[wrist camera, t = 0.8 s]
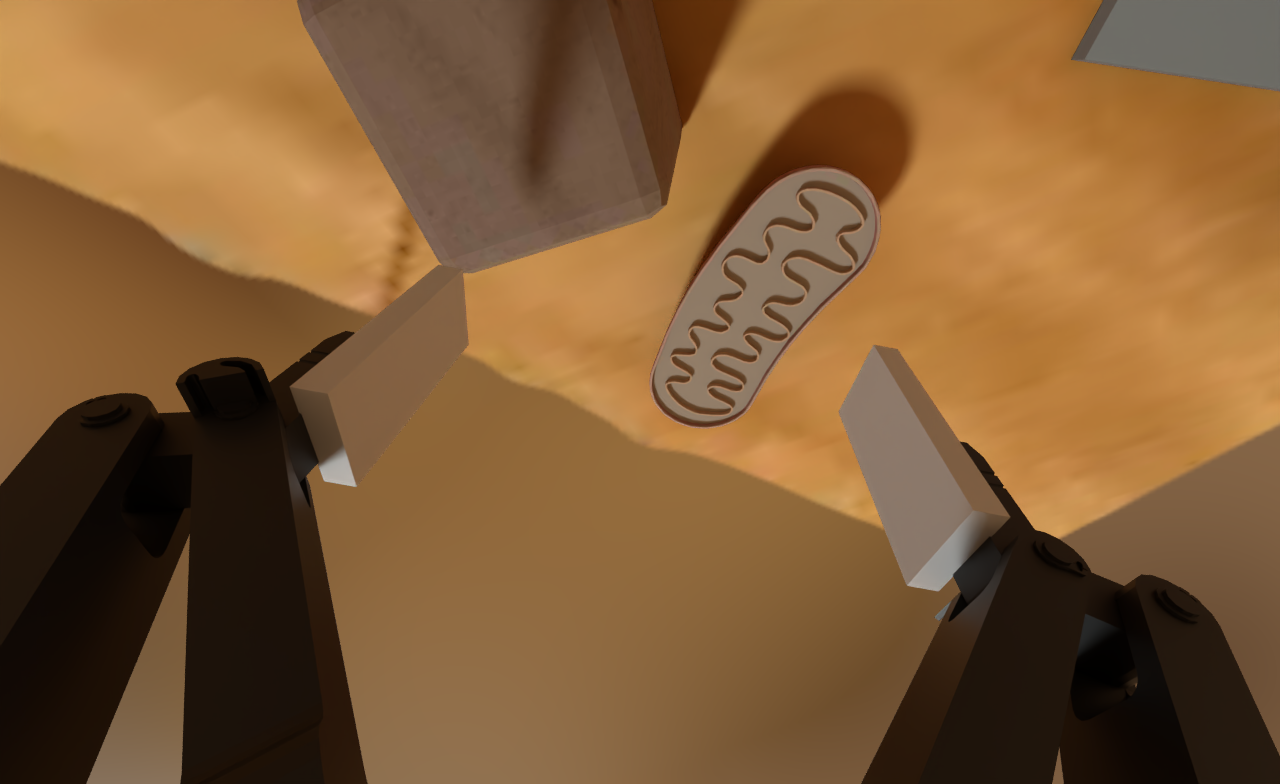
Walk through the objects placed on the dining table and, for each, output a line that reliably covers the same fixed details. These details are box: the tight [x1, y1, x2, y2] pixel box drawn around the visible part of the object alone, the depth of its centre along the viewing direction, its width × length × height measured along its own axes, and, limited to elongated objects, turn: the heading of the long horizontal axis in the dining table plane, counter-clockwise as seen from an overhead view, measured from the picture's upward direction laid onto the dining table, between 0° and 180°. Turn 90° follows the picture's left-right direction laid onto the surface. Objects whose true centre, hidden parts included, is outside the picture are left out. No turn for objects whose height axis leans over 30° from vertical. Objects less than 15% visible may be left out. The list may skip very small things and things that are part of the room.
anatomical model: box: [650, 165, 881, 428], centre depth 37 cm, size 23×10×5 cm, turn 154°
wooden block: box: [297, 0, 682, 273], centre depth 24 cm, size 10×10×20 cm
